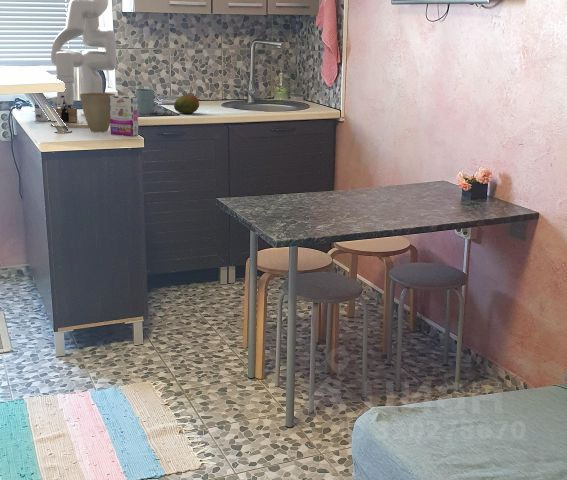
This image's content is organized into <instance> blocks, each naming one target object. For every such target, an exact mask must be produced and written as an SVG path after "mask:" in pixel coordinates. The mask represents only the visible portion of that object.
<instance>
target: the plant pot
mask: <svg viewBox="0 0 567 480" xmlns="http://www.w3.org/2000/svg"><path fill="white" fill-rule="evenodd" d="M113 95H116V94H115V93H111V92H103V93H83V92H82V93H80V94H79V99H80V104H81V107H82V112H84V115H85V116H84V115H83V116H84V117H85V118H84V119H85V121H87V124H88V126H89V128H88V129H89V130H90V132H93V133H106V132H108V131H109V130H110V96H113Z"/></svg>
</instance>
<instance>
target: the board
mask: <svg viewBox="0 0 567 480" xmlns="http://www.w3.org/2000/svg"><path fill="white" fill-rule="evenodd" d="M52 123H53V122H51V123H50V127H54V126H53V125H52ZM64 123H65V124H66V126H68V127H67V128H83V129H89V126H88V124H87V121H86V120H77V122H75V123H70V122H64Z"/></svg>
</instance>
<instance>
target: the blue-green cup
mask: <svg viewBox="0 0 567 480" xmlns="http://www.w3.org/2000/svg"><path fill="white" fill-rule="evenodd" d="M155 90H156V89H153V88H135V89H134V92H135V95H134V97H138V114H139V115H140V114H143V115H146V114H147V115H149V114H153V113H154V107H155V106H154V102H155Z"/></svg>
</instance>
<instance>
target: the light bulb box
mask: <svg viewBox="0 0 567 480" xmlns="http://www.w3.org/2000/svg"><path fill="white" fill-rule="evenodd" d="M44 96H45V97H46V99H47V100H48V101H49V103H50V104H51V105H52V106H53V108H54V109H55V110H56V108H59V105H58V104H57V96H51V95H44ZM34 117H35V121H36V122H37V121H38V122H49V121H48V118H47V116H46V115H45V113H44V112H43V111H42V110H41V109H40V108H39V106H38V105H37V104H36V103H35V102H34Z"/></svg>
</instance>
